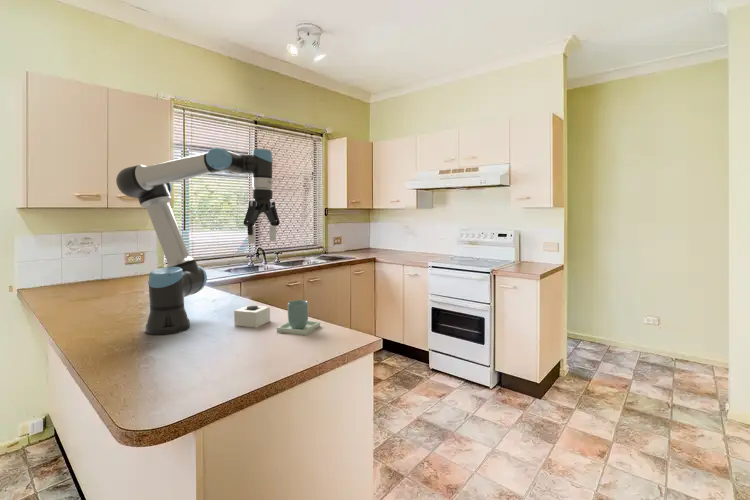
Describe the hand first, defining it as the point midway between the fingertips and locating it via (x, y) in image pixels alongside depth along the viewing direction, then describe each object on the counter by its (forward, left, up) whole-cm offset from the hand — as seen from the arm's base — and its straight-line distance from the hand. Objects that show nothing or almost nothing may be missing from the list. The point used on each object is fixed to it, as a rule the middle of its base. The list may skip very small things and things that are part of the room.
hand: (262, 242), depth 158 cm
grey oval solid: (-4, -2, -32) cm, 33 cm away
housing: (-4, -2, -33) cm, 33 cm away
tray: (+18, -4, -33) cm, 38 cm away
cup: (+18, -4, -33) cm, 37 cm away
